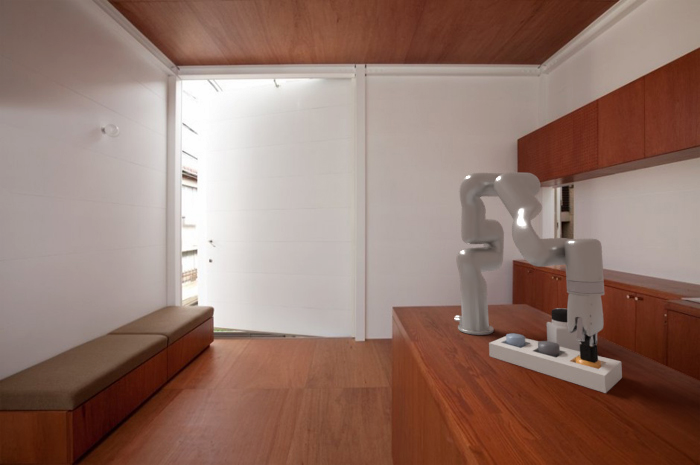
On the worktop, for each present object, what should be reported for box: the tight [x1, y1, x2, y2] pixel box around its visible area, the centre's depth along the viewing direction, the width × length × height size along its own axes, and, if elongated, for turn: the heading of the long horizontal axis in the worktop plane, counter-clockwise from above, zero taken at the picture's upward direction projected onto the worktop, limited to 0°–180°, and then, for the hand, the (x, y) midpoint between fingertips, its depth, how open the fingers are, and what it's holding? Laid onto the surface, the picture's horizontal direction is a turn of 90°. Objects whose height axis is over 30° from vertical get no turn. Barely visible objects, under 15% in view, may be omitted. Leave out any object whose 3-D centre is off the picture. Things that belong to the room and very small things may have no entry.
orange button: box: [576, 356, 601, 369], centre depth 77 cm, size 5×5×4 cm
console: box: [488, 335, 623, 394], centre depth 84 cm, size 28×12×4 cm, turn 35°
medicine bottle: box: [546, 307, 580, 351], centre depth 97 cm, size 7×7×12 cm
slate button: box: [505, 332, 526, 348], centre depth 92 cm, size 5×5×4 cm
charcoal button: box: [538, 340, 560, 357], centre depth 84 cm, size 5×5×4 cm
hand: (589, 360), depth 77 cm, fingers closed
